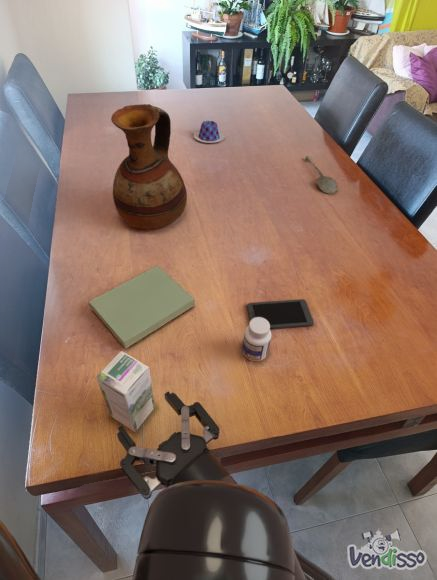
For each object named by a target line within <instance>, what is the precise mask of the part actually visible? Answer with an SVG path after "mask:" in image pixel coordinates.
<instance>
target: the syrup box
mask: <svg viewBox="0 0 437 580" xmlns="http://www.w3.org/2000/svg"><path fill="white" fill-rule="evenodd" d="M96 379H97V380H96V381H97V383H98V386H99V388H100V391H101V393H102V397H103V399H104V402H105V405H106V408H107V410H108V412H109V416H110V417H111V418H112V419H114V420H116V421H117V422H119V423H120V424H122V426H124V427H126V428H127V429H129V430H130V431H132V432H133V433H137V432H138V430H139V429H140V427H141V426H142V425H143V423H145V421H146V420H147V419H148V417H149V416H150V415H151V413H152V412H153V411H154V409H155V408H156V405H155V398H154V397H155V396H154V391H153V383H152V378H151V372H150V367H149V366H148V365H146V364H144V363H143V362H141V361H139V360H138V359H136V358H135V357H133V356H131V355H130V354H129V353H126V352H124V351H122V350H120V351H119V353H118V354H116V355H115V357H114V358H112V360H110V361H109V363H108V364H107V365H106V366H105V367H104V368H103V369H102V370H101V371H100V372H99V373H98V375H96Z"/></svg>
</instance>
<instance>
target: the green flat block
mask: <svg viewBox="0 0 437 580" xmlns="http://www.w3.org/2000/svg"><path fill="white" fill-rule="evenodd" d="M195 299H196V298H194V297H193V296H192V295H191V294H190V293H189V292H188V291H187V290H185V289H184V287H182V286H181V285H180V284H179V283H178V282H177V281H176V280H174V279H173V278H172V277H171V276H170V275H169V274H168V273H167V272H166V271H165V270H164V269H163V268H161V267H160V266H159V265H158V264H157V265H155V266H153V267H152V268H150V269H147V270H146V271H144V272H142V273H139V274H138V275H136V276H134V277H132V278H130V279H129V280H127V281H125V282H123V283H120V284H119V285H117V286H115V287H113V288H111V289H109V290H108V291H106V292H104V293H102V294H101V295H98V296H97V297H95V298H92V299H91V300H89V301H88V303H89V307H90V309H91V310H92V311H93V312H94V313H95V315H96V316H97V317H98V319H100V320H101V322H102V323H103V324H104V325H105V326H106V328H107V329H108V330H109V332H111V333H112V335H113V336H114V337H115V339H116V340H117V341H118V342H119V343H120V344H121V345H122V347H124V349H127V348H129V347H131V346H133V345H134V344H136V343H137V342H139V341H140V340H142V339H143V338H145V337H147V336H148V335H150V334H152V333H153V332H154V331H156V330H158V329H159V328H161V327H162V326H164V325H166V324H167V323H169V322H171V321H172V320H174V319H175V318H177V317H178V316H180V315H182V314H183V313H185V312H187V311H188V310H190V309H191V308H193V307H195V305H196V303H195V301H196V300H195Z"/></svg>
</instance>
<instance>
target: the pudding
mask: <svg viewBox="0 0 437 580" xmlns="http://www.w3.org/2000/svg"><path fill="white" fill-rule="evenodd" d="M193 138H194V139H195V140H197V141H199V142H201V143H208V144H212V143H213V144H214V143H218V142H221V141H223V140H224V139H225V138H226V135H225V133H224V132H223V131H222V130H219V126H218V123H217V122H216V121H214V120H204V121H202V122H201V125H200V129H198V130H196V131H194V132H193Z"/></svg>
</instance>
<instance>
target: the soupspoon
mask: <svg viewBox="0 0 437 580" xmlns="http://www.w3.org/2000/svg"><path fill="white" fill-rule="evenodd" d="M305 161H308V162H309V163H310V164H311V165H312V166H313V168H314V169H315V170H316V172H317V173H318V175H319V176H318V177H317V179H316V184H317V187H318V188H319V190H321V192H323V193H325V194H328V195H333V194H335V193H336V192H337V191H338V189H339V188H338V187H339V185H338V183H337V181H336V180H335V179H334V178H332V177H331V176H326V175H323V172H322V171H321V170H320V169H319V167H318V166H317V165H316V164H315V162H314V161H313V160H312V159H311V156H310V155H306V156H305Z"/></svg>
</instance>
